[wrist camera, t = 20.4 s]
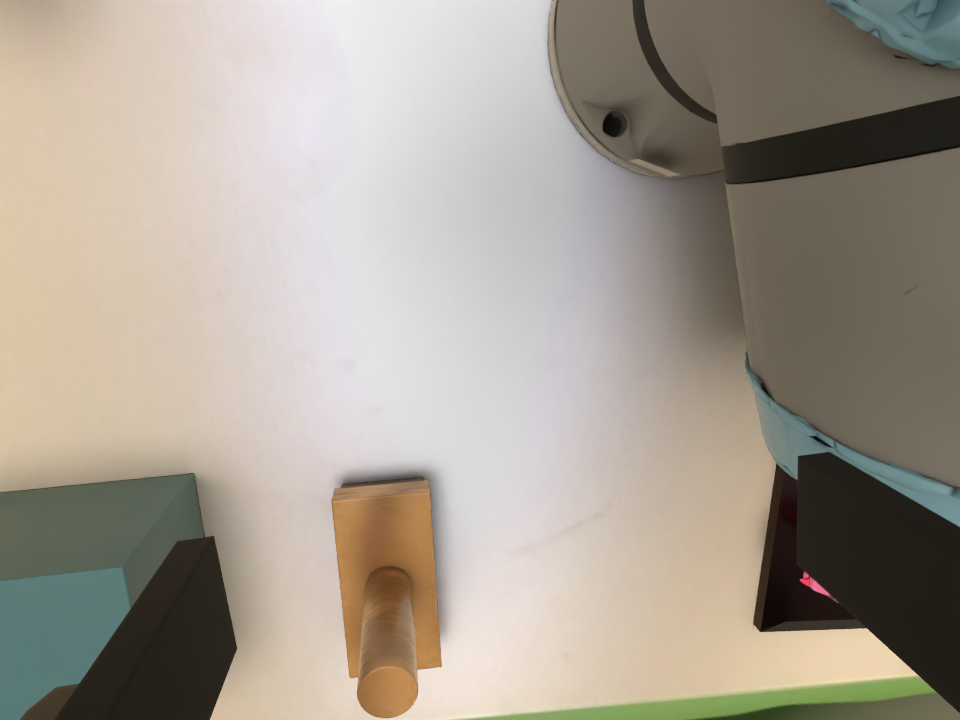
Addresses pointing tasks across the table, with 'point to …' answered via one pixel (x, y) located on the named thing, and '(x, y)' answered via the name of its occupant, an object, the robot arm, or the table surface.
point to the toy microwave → (79, 573)
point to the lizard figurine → (792, 575)
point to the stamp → (387, 589)
